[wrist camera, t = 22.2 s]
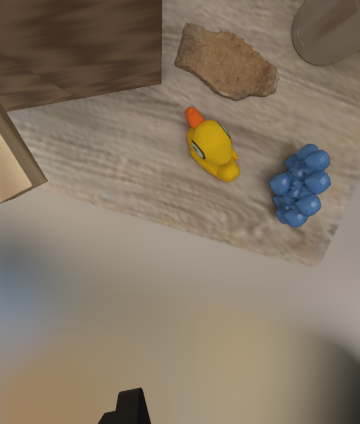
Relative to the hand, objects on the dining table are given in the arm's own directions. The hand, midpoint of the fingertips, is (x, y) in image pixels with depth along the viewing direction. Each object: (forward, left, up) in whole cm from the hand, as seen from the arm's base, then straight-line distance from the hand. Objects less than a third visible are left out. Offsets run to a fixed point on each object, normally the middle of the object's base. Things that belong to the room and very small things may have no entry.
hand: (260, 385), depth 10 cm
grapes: (-15, 0, -38) cm, 41 cm away
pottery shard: (-10, -17, -39) cm, 44 cm away
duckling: (-5, -7, -38) cm, 39 cm away
